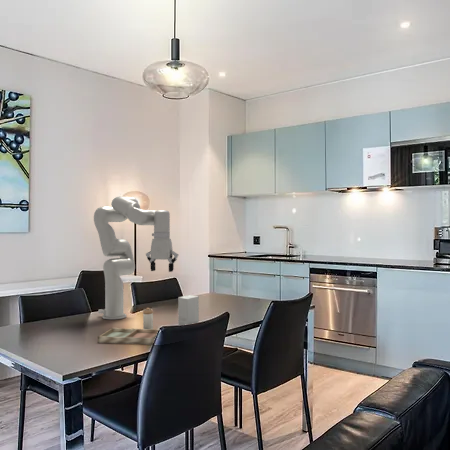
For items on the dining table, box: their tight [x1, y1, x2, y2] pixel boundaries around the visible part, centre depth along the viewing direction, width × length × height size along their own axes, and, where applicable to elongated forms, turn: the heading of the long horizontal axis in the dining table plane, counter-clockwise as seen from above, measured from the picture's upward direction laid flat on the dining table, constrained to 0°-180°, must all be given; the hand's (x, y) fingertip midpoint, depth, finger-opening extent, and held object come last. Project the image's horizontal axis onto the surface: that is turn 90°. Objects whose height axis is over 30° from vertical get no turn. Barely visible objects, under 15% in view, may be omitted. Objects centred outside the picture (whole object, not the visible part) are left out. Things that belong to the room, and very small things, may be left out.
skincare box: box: [177, 294, 200, 326], centre depth 221 cm, size 8×7×16 cm
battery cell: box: [142, 307, 154, 329], centre depth 217 cm, size 4×4×11 cm
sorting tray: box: [97, 327, 159, 346], centre depth 202 cm, size 24×16×2 cm, turn 82°
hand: (161, 271), depth 223 cm, fingers open, 9 cm apart
